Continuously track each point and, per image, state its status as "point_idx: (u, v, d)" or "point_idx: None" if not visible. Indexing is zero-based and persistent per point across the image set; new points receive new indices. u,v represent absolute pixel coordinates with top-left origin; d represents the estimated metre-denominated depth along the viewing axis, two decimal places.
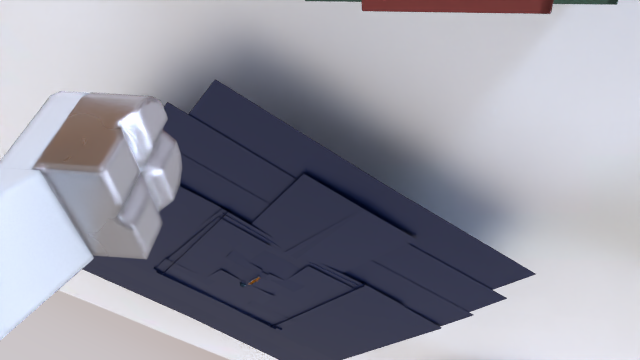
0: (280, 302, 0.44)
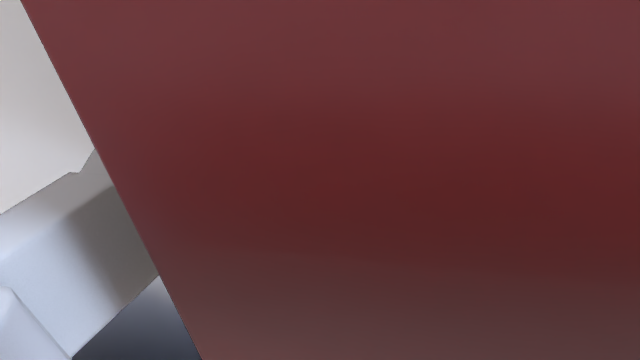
0: None
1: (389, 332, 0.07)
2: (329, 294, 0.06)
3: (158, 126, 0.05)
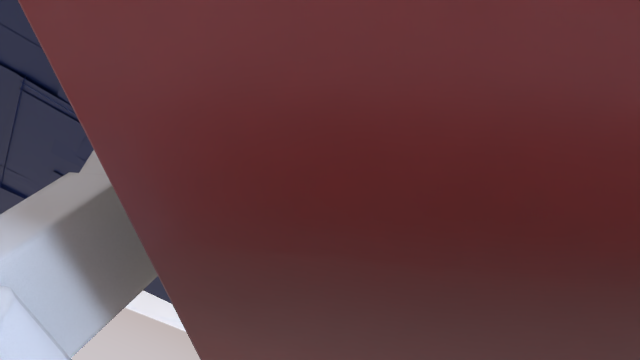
0: None
1: (387, 333, 0.07)
2: (328, 294, 0.06)
3: (156, 127, 0.05)
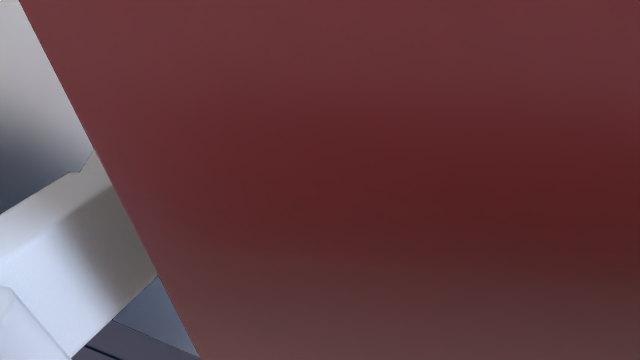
0: None
1: (388, 334, 0.07)
2: (329, 297, 0.06)
3: (158, 130, 0.05)
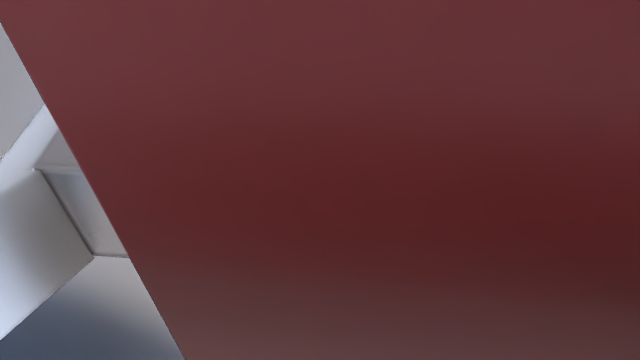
0: None
1: (380, 352, 0.06)
2: (320, 315, 0.06)
3: (145, 152, 0.05)
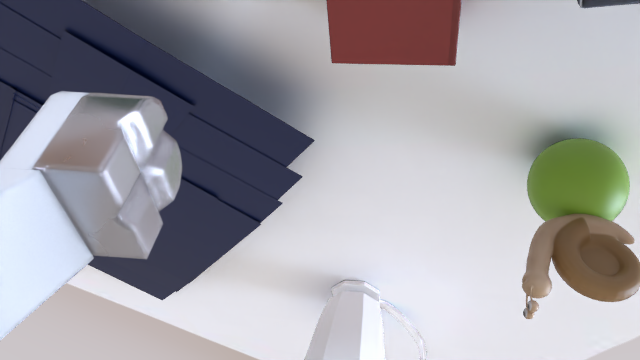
0: None
1: None
2: None
3: None
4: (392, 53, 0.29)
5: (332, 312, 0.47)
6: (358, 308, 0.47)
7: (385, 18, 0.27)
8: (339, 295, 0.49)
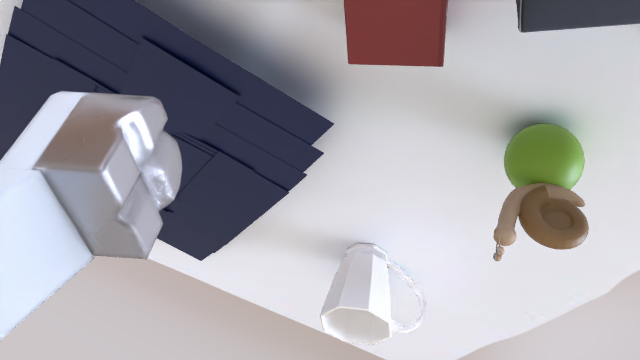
0: None
1: None
2: None
3: None
4: (395, 57, 0.37)
5: (346, 269, 0.56)
6: (368, 266, 0.56)
7: (389, 31, 0.36)
8: (352, 255, 0.58)
